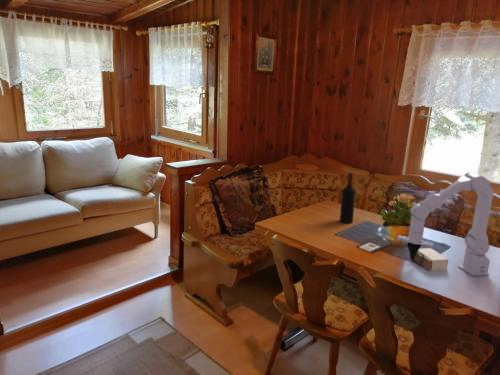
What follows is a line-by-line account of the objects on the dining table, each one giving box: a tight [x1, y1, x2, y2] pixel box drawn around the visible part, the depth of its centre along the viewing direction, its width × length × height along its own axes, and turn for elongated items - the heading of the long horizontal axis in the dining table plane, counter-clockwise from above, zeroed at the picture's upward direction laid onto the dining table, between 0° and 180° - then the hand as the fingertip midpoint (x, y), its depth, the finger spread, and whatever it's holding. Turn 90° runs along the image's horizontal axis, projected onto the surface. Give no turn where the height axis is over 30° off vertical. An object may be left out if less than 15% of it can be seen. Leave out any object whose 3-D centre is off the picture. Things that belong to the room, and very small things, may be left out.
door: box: [413, 252, 423, 266], centre depth 170 cm, size 8×1×5 cm, turn 2°
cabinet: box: [418, 247, 449, 271], centre depth 169 cm, size 12×10×5 cm
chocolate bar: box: [356, 237, 393, 254], centre depth 189 cm, size 9×1×18 cm
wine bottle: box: [339, 172, 356, 225], centre depth 219 cm, size 8×8×30 cm
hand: (412, 258), depth 167 cm, fingers closed
